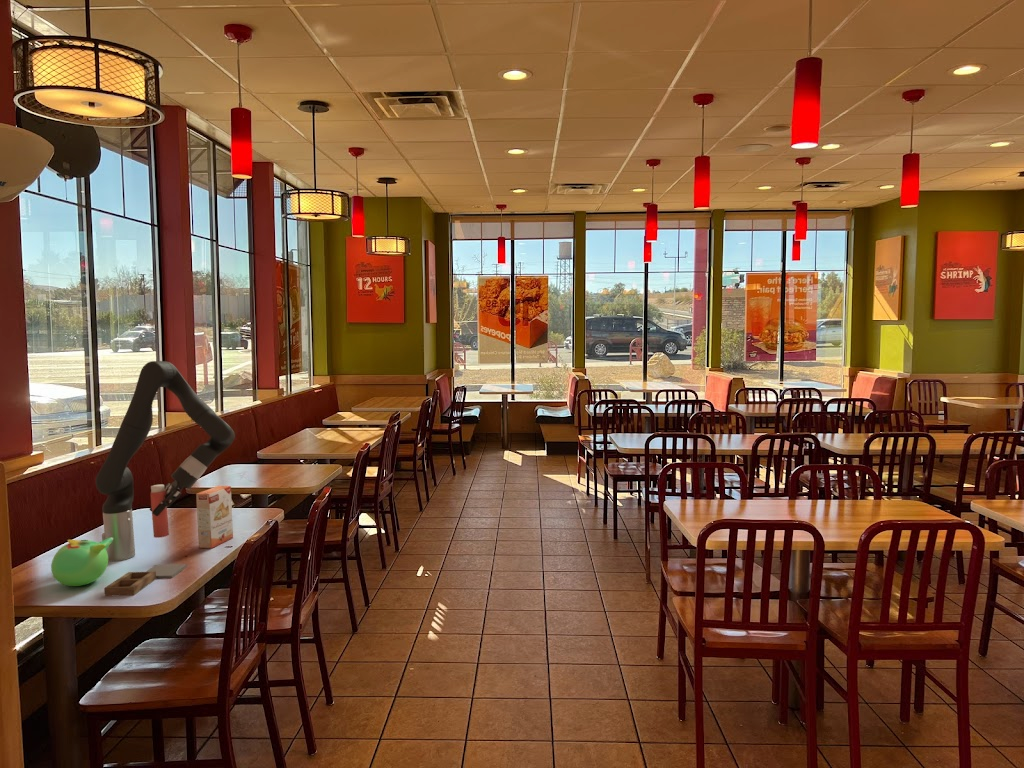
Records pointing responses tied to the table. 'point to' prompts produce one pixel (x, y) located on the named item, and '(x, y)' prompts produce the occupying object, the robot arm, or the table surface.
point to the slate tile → (167, 570)
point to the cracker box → (214, 516)
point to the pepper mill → (162, 519)
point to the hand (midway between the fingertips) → (153, 512)
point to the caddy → (130, 583)
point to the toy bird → (80, 562)
